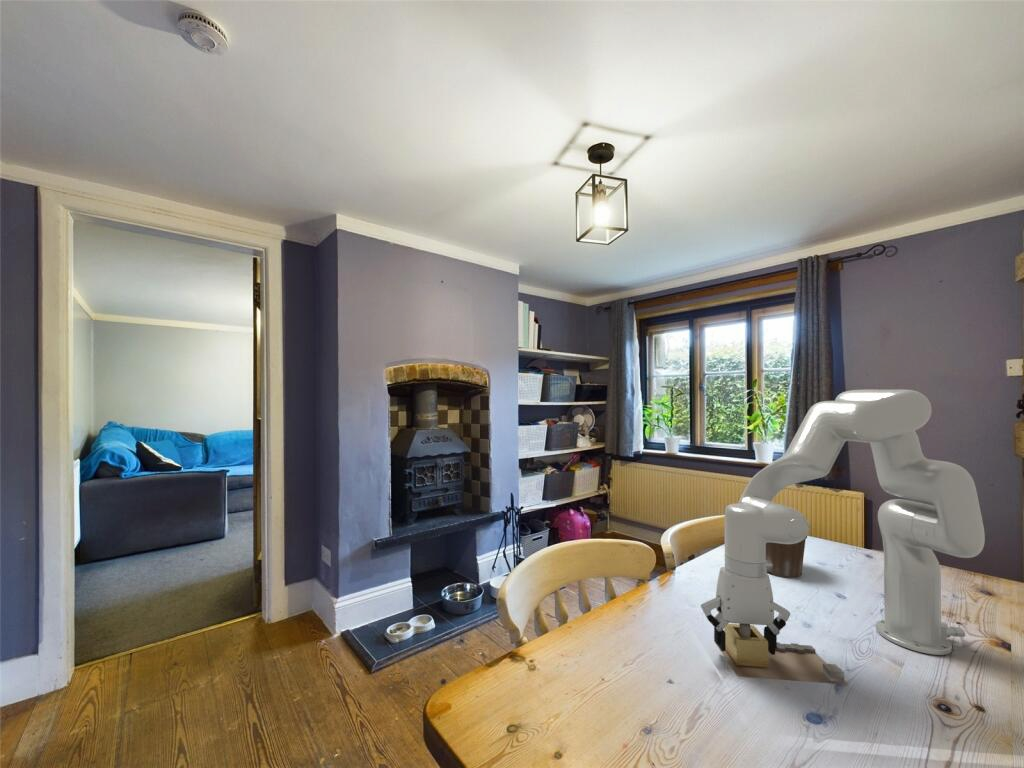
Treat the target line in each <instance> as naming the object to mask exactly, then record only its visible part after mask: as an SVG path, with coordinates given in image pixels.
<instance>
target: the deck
mask: <svg viewBox="0 0 1024 768" xmlns="http://www.w3.org/2000/svg"><path fill="white" fill-rule="evenodd" d="M750 625H751V624H739V636H740V637H750ZM713 642H714V643H715V641H714V640H713ZM715 645H716V646H717V648H718V649H719V651H720V652H721V654H722V656H723V657H724V658H725V659H726V662H727V663H728V664H729V665H730V667H731V668H732V671H734V673H735V675H736V676H737V677H740V678H755V679H767V680H768V679H769V680H779V681H780V680H781V681H782V680H783V681H794V682H795V681H797V682H809V683H810V682H811V683H823V684H838V685H848V683H847V682H846V681H845V672H844V671H843V670H842V669H841V668H840V667H839V666H838V664H835V663H827V661H825V660H824V659H823V658H822V657H821V656H820V655H819V654H817V653H816V648H814V647H813V646H812V645H809V644H808V645H807V644H806V645H805V644H799V643H793V642H791V644H789V643H781V642H778V641H777V648H775V655H772V654H771V653H770V652H769V651H768V667H757V666H743V665H736V663H735V662H734V660H733V659H732V658H731V656H730V655H729V653H728V652H727V650H725V651H721V649H720V648H719V646H718V645H717V644H716V643H715Z"/></svg>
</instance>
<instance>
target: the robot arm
mask: <svg viewBox="0 0 1024 768" xmlns="http://www.w3.org/2000/svg"><path fill="white" fill-rule="evenodd" d="M932 411H933V410H932V404H931V402H930V401H929V398H928V397H927V396H926V395H924V394H923V393H921V392H920V391H917V390H913V389H902V388H901V389H874V388H873V389H872V388H871V389H868V388H867V389H852V390H847V391H843V392H841V393H839V394H838V395H837V396H836V397H835V399H834V400H824V401H819V402H817V403H814V404H813V405H812V406H810V408H809V409H808V411H807V413H806V415H805V416H804V418H803V420H802V422H801V423H800V425H799V427H798V429H797V431H796V433H795V435H794V436H793V438H792V440H791V442H790V444H789V446H788V448H787V450H786V451H785V453H784V454H783V455H782V456H781V457H778V458H777V459H775V460H774V461H772V462H771V463H769V464H767V465H766V466H765V467H764V468H762V469H761V470H759V471H757V473H755V475H753V476H752V477H751V479H750V480H749V482H748V483H747V485H746V486H745V488H744V490H743V492H742V494H741V496H740V498H739V500H738V502H737V503H730V504H728V505H726V506H725V508H724V509H725V510H724V566H721V567H720V569H719V571H718V572H719V573H718V576H717V581H716V582H717V584H716V591H715V598H712V599H710V600H708V601H706V602H703V603H701V604H700V608H701V610H702V612H703V614H704V615H705V618H706V619H707V621H709V623H710V624H711V625H712V626H713V642H714V641H715V642H714V643H715V645H716V644H717V645H718V646H719V648H720V649H721V651H725V650H726V634H725V631H724V628H725V627H726V626H727V624H750V625H754V626H755V625H756V626H764V628H763V637H764V638H765V639H766V640H767V641H768V651H769V652H770V653H771V654H772V655H775V648H777V642H778V640H777V639H778V638H777V637H778V636H779V635H780V633H781V630H782V629H783V628H784V627H785V626H786V625H787V623H786V622H788V620H789V618H790V616H791V612H790V611H789V610H788V609H787V608H785V607H783V606H782V605H780V604H778V603H776V602H775V601H774V596H773V595H774V593H773V587H772V583H771V578H770V577H769V574H768V573H767V568H772V566H773V565H772V562H771V561H767V560H766V543H767V542H772V543H780V544H795V543H798V542H801V541H802V540H804V539H805V538H806V536H807V537H808V534H809V531H810V528H809V524H810V523H809V521H808V519H807V517H806V516H805V515H804V514H803V513H802V512H800V511H799V510H797V509H795V508H793V507H790V506H787V505H785V504H780V503H777V502H775V501H773V500H774V498H776V496H777V495H778V494H779V493H780V492H782V491H783V490H784V489H786V488H788V487H790V486H793V485H796V484H799V483H804V482H809V481H812V480H816V479H820V478H821V479H822V478H823V477H826V476H827V475H828V474H829V473H830V471H831V470H832V467H833V466H834V464H835V462H836V460H837V457H838V456H839V454H840V452H841V450H842V448H843V446H844V445H845V443H846V442H855V443H856V442H858V443H866V444H867V443H869V445H870V448H871V452H872V456H873V460H874V467H875V471H876V476H877V481H878V482H879V486H880V487H881V489H882V490H883V491H884V492H886V493H887V494H889V495H892V496H896V497H899V498H897V499H889V500H887V501H884V502H883V503H882V504H880V506H879V509H878V511H877V522H878V526H879V530H880V535H881V538H882V539H881V540H882V547H883V583H884V584H883V586H884V587H883V590H884V591H883V593H884V597H883V598H884V600H883V602H884V603H883V604H884V606H883V607H884V609H883V610H884V619H881V620H878V621H877V622H876V623H875V629H876V631H877V632H878V633H879V635H881V636H882V637H883V638H885V639H886V640H888V641H890V642H892V643H893V644H895V645H898V646H899V647H900V646H901V647H903V648H906V649H907V650H911V651H915V652H919V653H922V654H928V655H934V656H944V655H949V654H951V653H952V652H953V651H952V643H951V642H950V641H949V640H948V638H951V637H954V638H955V637H956V638H958V637H959V638H965V637H966V632H965V630H964V629H963V628H962V627H961V626H960V627H957V626H948V625H947V623H946V622H943V621H942V581H941V580H942V578H941V577H942V575H941V574H942V573H941V565H940V562H939V560H938V558H937V556H936V554H935V552H934V551H936V552H938V553H942V554H945V555H949V556H953V557H957V558H963V559H970V558H975V557H977V556H978V555H980V553H981V552H982V551H983V550H984V546H985V541H986V537H985V534H986V533H985V528H984V523H983V522H984V521H983V516H982V512H981V507H980V502H979V497H978V492H977V488H976V484H975V481H974V478H973V477H972V475H971V474H970V473H969V472H968V471H967V469H966V468H964V467H963V466H961V465H959V464H956V463H954V462H950V461H944V460H938V459H937V460H936V459H930V458H927V457H926V456H924V454H923V451H922V447H921V443H920V438H919V436H918V433H917V432H916V431H918V430H919V429H921V428H922V427H924V426H925V425H926V423H928V422H929V420H930V418H931V416H932ZM901 498H903V499H901ZM808 523H809V524H808ZM806 539H807V538H806ZM715 609H716V611H717V614H716V615H715V616H714V615H713V614H712V611H713V610H715ZM775 612H777V613H778V615H777V616H776V617H775ZM717 645H716V646H717ZM718 646H717V647H718ZM719 648H718V649H719ZM720 649H719V650H720ZM721 651H720V652H721Z"/></svg>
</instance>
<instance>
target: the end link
mask: <svg viewBox="0 0 1024 768" xmlns="http://www.w3.org/2000/svg"><path fill="white" fill-rule="evenodd" d="M723 630H724V631H725V634H726V650H727V652H728V653H729V655H730V656H731V658H732V659H733V660H734V662H735V663H736V665H743V666H757V667H768V641H767V640H766V639H765V638H764V634H762V633H761V632H760V630H758V629H757V627H756V626H755V625H753V624H750V637H740V636H739V624H738V623H728V624H727V626H726V627H725V628H724V629H723Z"/></svg>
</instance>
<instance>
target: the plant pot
mask: <svg viewBox="0 0 1024 768" xmlns="http://www.w3.org/2000/svg"><path fill="white" fill-rule="evenodd" d="M808 524H809V529H810V528H811V524H810V523H809V522H808ZM806 539H808V535H807V536H806V538H805V539H804V540H802V541H801V542H798V543H795V544H780V543H772V542H767V543H766V560H767V561H771V562H772V565H773V566H772V568H767V574H768V573H770V574H772V575H774V576H776V577H780V578H781V577H782V578H788V579H790V578H791V579H795V578H799V577H800V576H802V575H803V565H804V564H803V563H804V557H805V556H804V555H805V548H806V541H807V540H806Z"/></svg>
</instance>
